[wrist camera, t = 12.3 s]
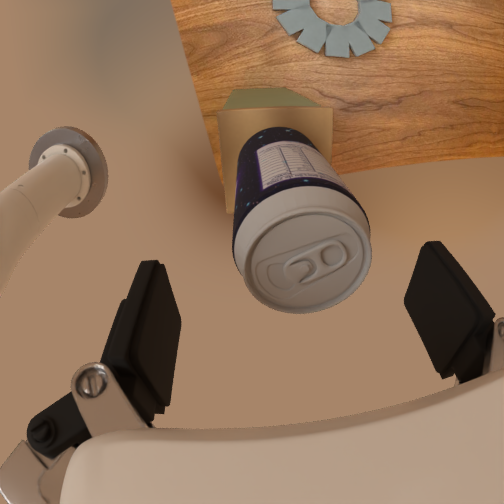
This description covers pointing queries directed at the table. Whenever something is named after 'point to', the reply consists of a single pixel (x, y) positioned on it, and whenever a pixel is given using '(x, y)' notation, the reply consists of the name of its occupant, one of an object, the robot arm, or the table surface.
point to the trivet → (336, 27)
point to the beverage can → (296, 225)
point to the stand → (268, 125)
